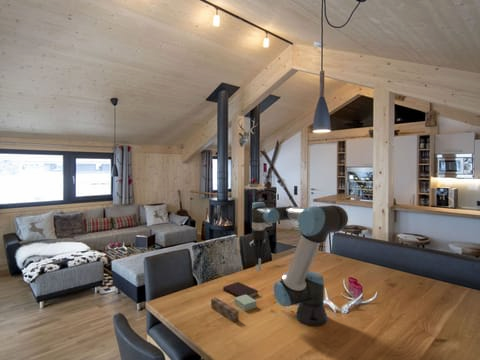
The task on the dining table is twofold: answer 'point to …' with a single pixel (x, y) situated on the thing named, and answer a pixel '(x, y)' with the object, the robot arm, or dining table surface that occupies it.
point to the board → (225, 309)
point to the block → (245, 302)
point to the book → (240, 290)
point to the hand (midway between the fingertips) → (258, 269)
